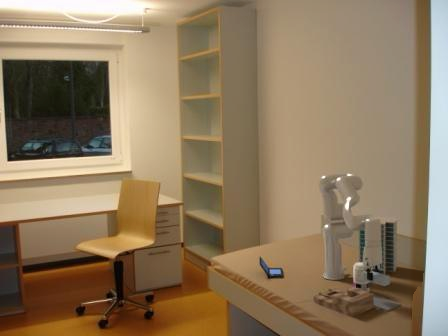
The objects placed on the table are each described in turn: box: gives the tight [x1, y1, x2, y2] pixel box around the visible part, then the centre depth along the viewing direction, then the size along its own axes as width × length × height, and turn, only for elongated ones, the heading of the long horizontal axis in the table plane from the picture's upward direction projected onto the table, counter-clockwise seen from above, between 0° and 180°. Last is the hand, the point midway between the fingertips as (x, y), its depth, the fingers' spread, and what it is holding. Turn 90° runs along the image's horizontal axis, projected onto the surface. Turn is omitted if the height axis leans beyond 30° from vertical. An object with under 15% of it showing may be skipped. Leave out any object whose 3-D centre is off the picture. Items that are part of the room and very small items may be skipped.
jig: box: [313, 287, 375, 318], centre depth 238 cm, size 24×16×7 cm, turn 37°
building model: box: [358, 216, 398, 275], centre depth 287 cm, size 20×16×30 cm
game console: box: [259, 256, 284, 279], centre depth 288 cm, size 16×14×9 cm
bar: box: [364, 271, 391, 287], centre depth 238 cm, size 12×4×4 cm, turn 37°
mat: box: [374, 294, 402, 312], centre depth 239 cm, size 11×18×1 cm, turn 37°
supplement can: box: [352, 261, 371, 293], centre depth 254 cm, size 8×8×15 cm
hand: (373, 278), depth 239 cm, fingers closed on bar, 4 cm apart
